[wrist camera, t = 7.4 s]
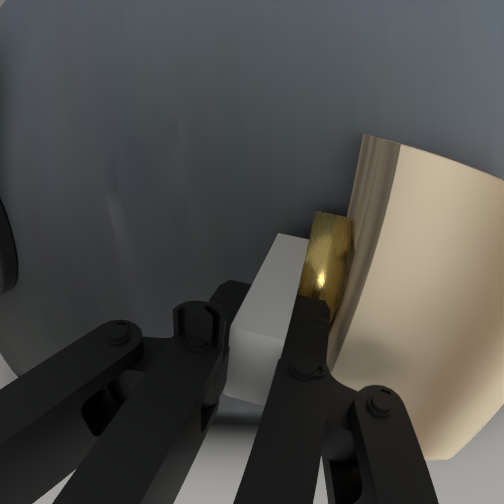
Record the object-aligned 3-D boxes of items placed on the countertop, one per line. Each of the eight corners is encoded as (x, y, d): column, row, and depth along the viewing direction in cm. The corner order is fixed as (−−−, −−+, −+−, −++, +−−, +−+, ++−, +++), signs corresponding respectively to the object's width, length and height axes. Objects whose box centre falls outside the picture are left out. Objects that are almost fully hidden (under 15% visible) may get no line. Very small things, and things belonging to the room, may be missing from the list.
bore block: (316, 326, 19) (296, 446, 11) (363, 133, 14) (400, 144, 6) (426, 347, 18) (449, 459, 10) (492, 175, 12) (597, 230, 4)
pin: (299, 287, 17) (284, 347, 12) (318, 198, 14) (310, 233, 10) (497, 327, 14) (525, 381, 10) (530, 257, 12) (573, 301, 8)
